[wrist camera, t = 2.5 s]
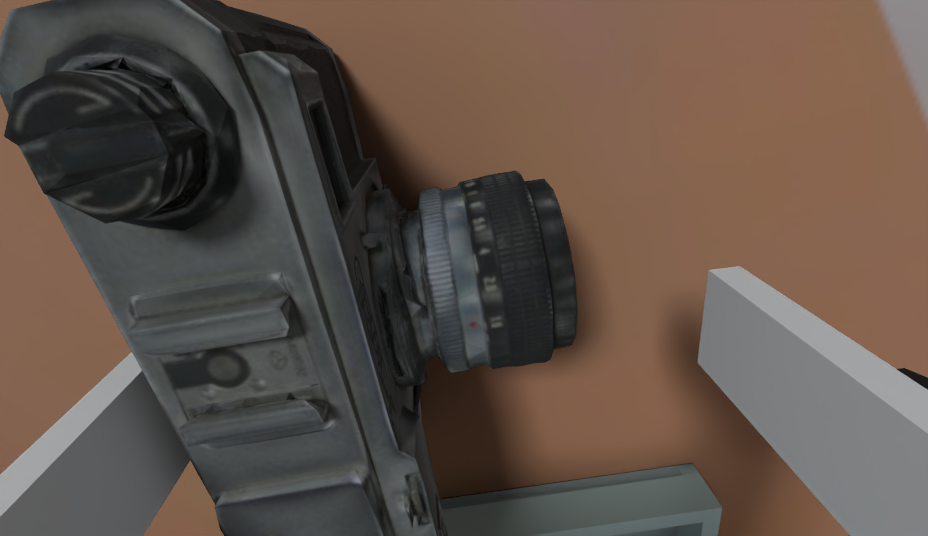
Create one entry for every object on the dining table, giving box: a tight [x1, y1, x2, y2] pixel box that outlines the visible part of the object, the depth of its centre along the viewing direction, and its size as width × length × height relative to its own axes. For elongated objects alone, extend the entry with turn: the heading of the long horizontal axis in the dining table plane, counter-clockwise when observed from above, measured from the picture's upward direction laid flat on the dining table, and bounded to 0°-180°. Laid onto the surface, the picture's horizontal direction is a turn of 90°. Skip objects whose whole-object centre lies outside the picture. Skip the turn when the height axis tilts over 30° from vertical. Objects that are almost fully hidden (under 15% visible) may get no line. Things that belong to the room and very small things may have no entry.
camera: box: [0, 0, 577, 536], centre depth 13 cm, size 18×9×10 cm, turn 9°
